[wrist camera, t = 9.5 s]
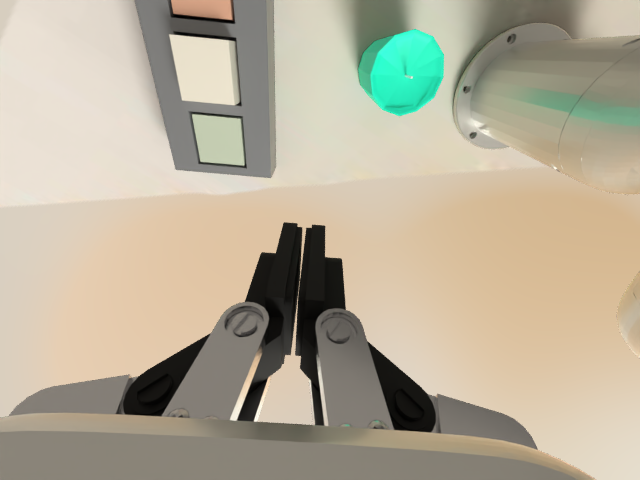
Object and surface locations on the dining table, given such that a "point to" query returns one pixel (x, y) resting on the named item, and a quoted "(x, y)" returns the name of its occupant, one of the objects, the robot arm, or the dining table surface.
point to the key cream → (207, 69)
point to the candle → (402, 71)
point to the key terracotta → (205, 9)
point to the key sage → (220, 138)
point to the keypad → (255, 106)
